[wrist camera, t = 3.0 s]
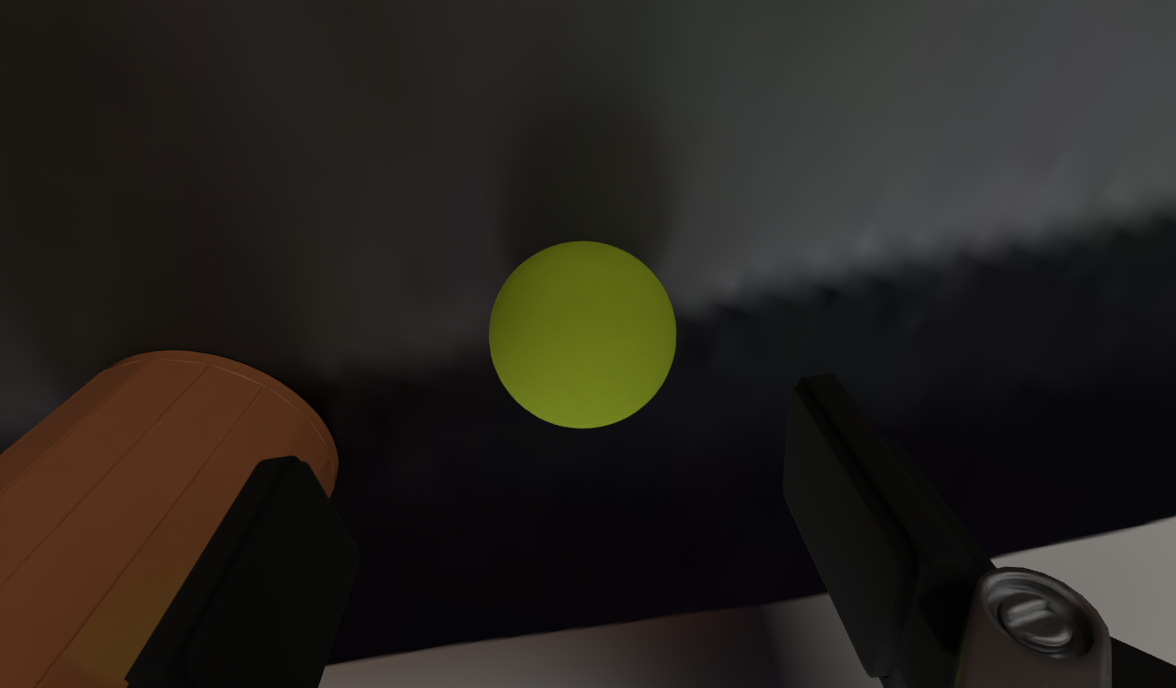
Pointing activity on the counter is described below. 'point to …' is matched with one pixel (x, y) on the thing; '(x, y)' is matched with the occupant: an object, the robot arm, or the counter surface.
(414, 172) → the counter surface
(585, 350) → the ball
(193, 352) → the tube
